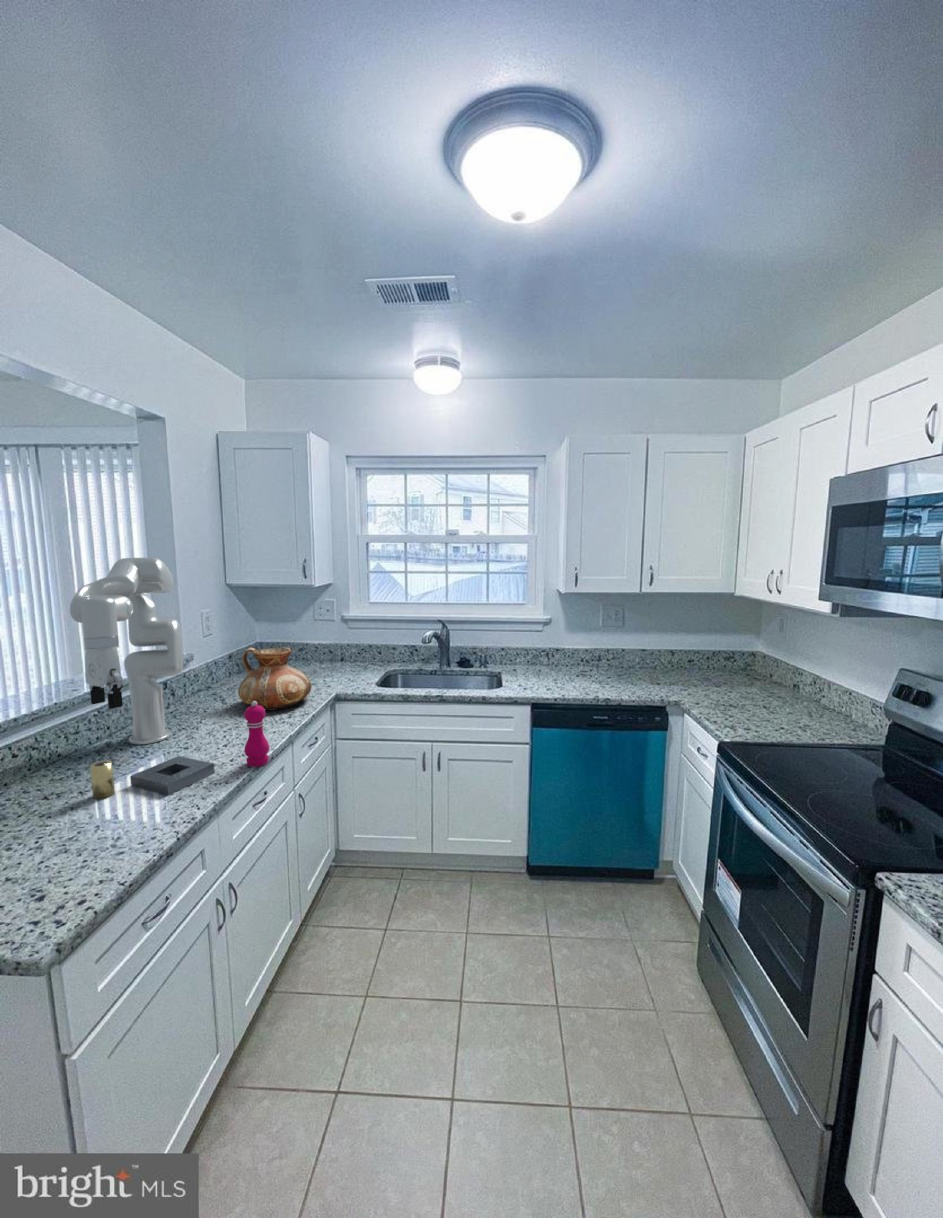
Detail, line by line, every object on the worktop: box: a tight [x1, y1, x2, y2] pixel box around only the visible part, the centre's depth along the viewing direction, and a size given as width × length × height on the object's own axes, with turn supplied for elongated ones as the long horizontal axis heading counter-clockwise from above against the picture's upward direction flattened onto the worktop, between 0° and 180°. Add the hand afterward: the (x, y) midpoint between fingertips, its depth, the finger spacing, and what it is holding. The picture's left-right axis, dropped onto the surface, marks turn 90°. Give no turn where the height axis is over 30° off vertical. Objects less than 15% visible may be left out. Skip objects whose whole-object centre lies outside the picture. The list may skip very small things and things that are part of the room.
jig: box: [130, 755, 215, 796], centre depth 149 cm, size 15×15×3 cm
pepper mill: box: [243, 701, 270, 768], centre depth 159 cm, size 7×7×20 cm
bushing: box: [89, 759, 116, 801], centre depth 139 cm, size 5×5×9 cm
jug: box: [237, 647, 312, 711], centre depth 221 cm, size 30×30×25 cm
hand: (106, 705), depth 139 cm, fingers open, 9 cm apart
